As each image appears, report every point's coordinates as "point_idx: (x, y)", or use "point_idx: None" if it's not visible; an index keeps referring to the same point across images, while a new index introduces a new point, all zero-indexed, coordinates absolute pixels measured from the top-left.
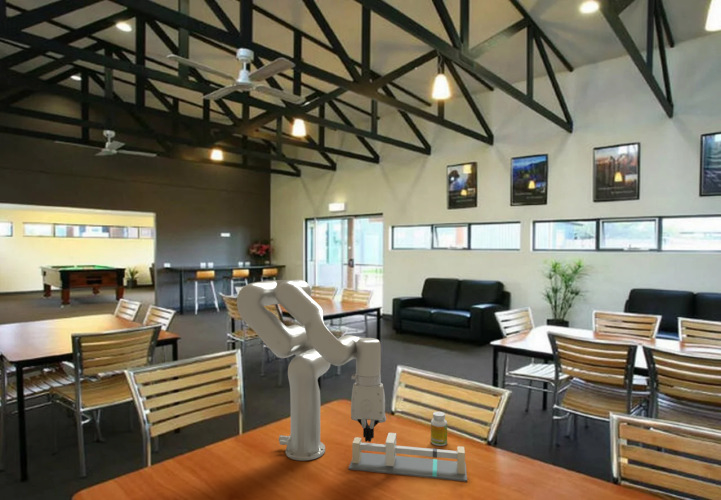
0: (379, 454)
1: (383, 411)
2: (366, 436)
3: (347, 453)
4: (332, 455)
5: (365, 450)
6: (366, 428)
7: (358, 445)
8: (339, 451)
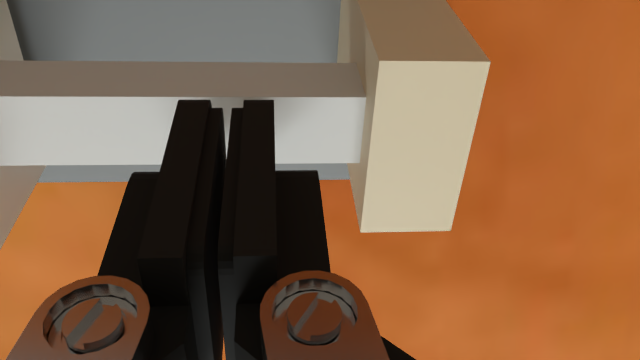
0: None
1: None
2: (245, 145)
3: (474, 158)
4: (617, 102)
5: (275, 63)
6: (244, 273)
7: (380, 47)
8: (547, 177)
